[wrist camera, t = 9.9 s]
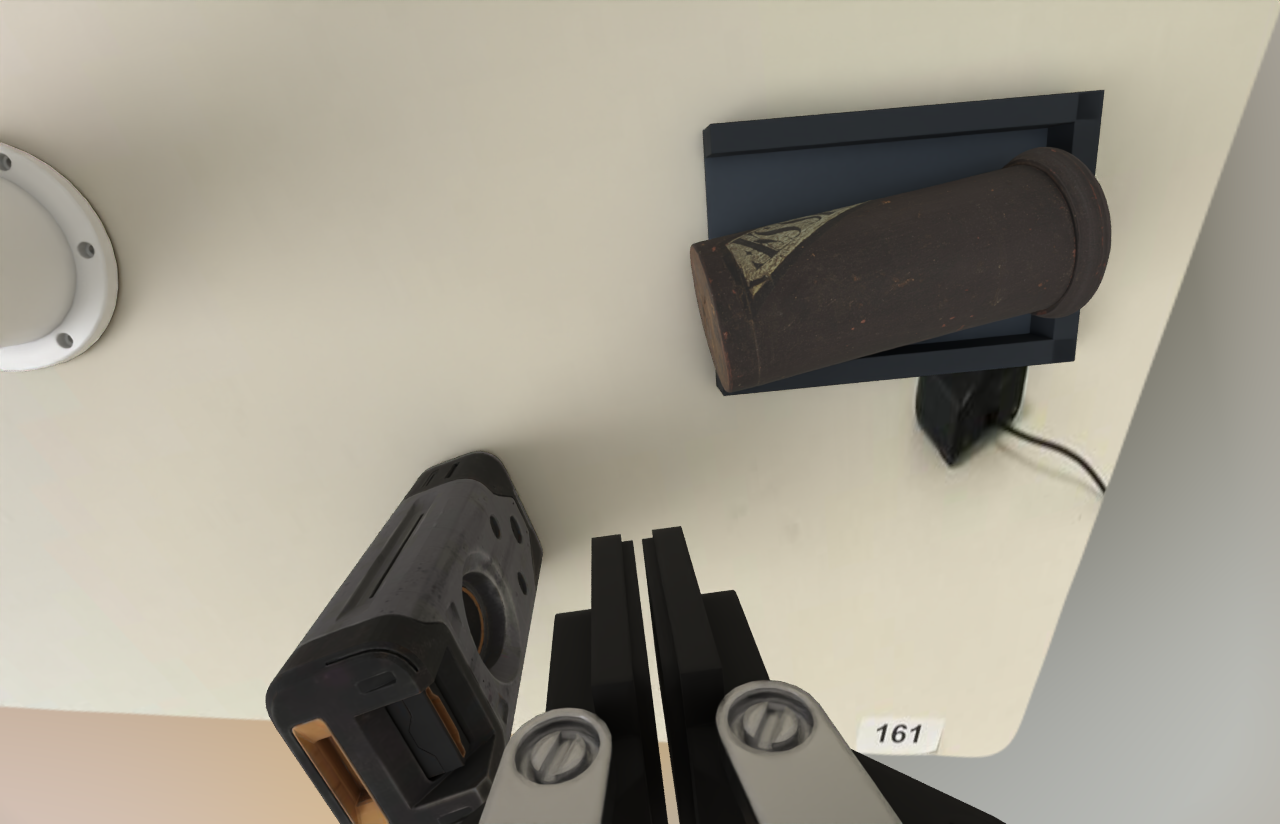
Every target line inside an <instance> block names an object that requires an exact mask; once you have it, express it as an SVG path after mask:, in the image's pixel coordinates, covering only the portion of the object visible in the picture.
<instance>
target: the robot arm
mask: <svg viewBox="0 0 1280 824" xmlns="http://www.w3.org/2000/svg"><path fill="white" fill-rule="evenodd" d="M117 292H118V273H117V263H116V259H115V256H114V252H113V248H112V244H111V242H110V239H109V237H108V235H107V233H106V231H105V229H104V226H103V224H102V222H101V220H100V219H99V217H98V216H97V214H96V213H95V211H94V210H93V209H92V207H91V206H90V204H89V203H88V201H87V200H86V199H85V198H84V197H83V196H82V194H81V193H80V192H79V191H78V190H77V189H76V188H75V187H74V186H73V185H72V184H71V183H70V181H68V180H67V179H66V178H65V177H63V176H62V175H61V174H60V173H58V172H57V171H56V170H55V169H53V168H52V167H51V166H50V165H48V164H46V163H45V162H43V161H41V160H39V159H38V158H36V157H34V156H32V155H31V154H29V153H27V152H25V151H23V150H20V149H17V148H15V147H12V146H9V145H7V144H4V143H1V142H0V371H30V370H36V369H41V368H46V367H50V366H53V365H56V364H60V363H63V362H66V361H69V360H71V359H72V358H74V357H76V356H78V355H80V354H81V353H83V352H85V351H86V350H87V349H88V348H89V347H90V346H91V345H93V344H94V343H95V342H96V341H97V340H98V339H99V338H100V336H101V335H102V333H103V332H104V330H105V329H106V327H107V326H108V324H109V322H110V320H111V317H112V314H113V312H114V309H115V306H116V300H117ZM652 534H653V538H647V539H642V544H643V553H644V561H645V569H646V578H647V586H648V595H649V603H650V611H651V620H652V628H653V636H654V645H655V653H656V661H657V669H658V677H659V684H660V691H661V698H662V705H663V712H664V719H665V726H666V732H667V739H668V746H669V752H670V760H671V767H672V774H673V781H674V787H675V794H676V802H677V807H678V808H677V809H678V815H679V822H680V824H1006V823H1004V822H1002V821H1001V820H999V819H997V818H995V817H994V816H992V815H989V814H987V813H985V812H983V811H981V810H979V809H977V808H975V807H973V806H971V805H968V804H966V803H964V802H962V801H960V800H958V799H956V798H954V797H952V796H949V795H947V794H945V793H943V792H941V791H939V790H937V789H935V788H932V787H930V786H928V785H926V784H924V783H922V782H920V781H918V780H916V779H913V778H911V777H909V776H907V775H905V774H903V773H901V772H898V771H897V770H894V769H892V768H890V767H888V766H886V765H884V764H882V763H880V762H877V761H875V760H873V759H871V758H869V757H867V756H865V755H863V754H861V753H858V752H856V751H854V750H852V749H850V747H849V746H848V744H847V743H846V742H845V740H844V739H843V737H842V736H841V734H840V733H839V731H838V730H837V729H836V727H835V726H834V724H833V723H832V721H831V720H830V719H829V717H828V716H827V714H826V713H825V711H824V710H823V708H822V707H821V706H820V704H819V703H818V702H817V701H816V700H815V699H814V698H813V697H812V696H811V695H810V694H809V693H807V692H806V691H804V690H802V689H800V688H799V687H797V686H795V685H791V684H788V683H785V682H782V681H772V680H770V679H769V676H768V674H767V671H766V669H765V666H764V663H763V661H762V658H761V656H760V653H759V651H758V648H757V645H756V643H755V640H754V638H753V635H752V632H751V630H750V627H749V625H748V622H747V620H746V617H745V614H744V612H743V609H742V607H741V604H740V601H739V599H738V596H737V594H736V592H735V591H734V590H729V591H721V592H714V593H707V594H701V593H700V589H699V586H698V583H697V579H696V576H695V572H694V569H693V565H692V562H691V559H690V555H689V552H688V548H687V545H686V541H685V538H684V534H683V531H682V528H681V526H679V527H671V528H664V529H656V530H652ZM460 824H668V820H667V811H666V803H665V795H664V786H663V778H662V770H661V762H660V754H659V747H658V738H657V730H656V722H655V714H654V706H653V698H652V690H651V682H650V674H649V666H648V658H647V650H646V642H645V634H644V626H643V618H642V610H641V602H640V594H639V586H638V578H637V570H636V562H635V555H634V547H633V540H631V541H624V542H622V541H621V534H618V535H610V536H603V537H595V538H592V562H591V609H588V610H581V611H574V612H566V613H559V614H556V615H555V620H554V630H553V640H552V651H551V661H550V672H549V682H548V692H547V703H546V712H545V713H543V714H540V715H537V716H535V717H534V718H532V719H531V720H529V721H528V722H526V723H525V724H523V725H522V726H521V727H520V728H519V729H518V730H517V731H516V732H515V733H514V734H513V735H512V737H511V738H510V740H509V742H508V744H507V746H506V748H505V750H504V752H503V755H502V758H501V761H500V764H499V767H498V770H497V773H496V775H495V778H494V781H493V784H492V787H491V790H490V793H489V796H488V798H487V800H486V801H485V802H484V803H483V804H482V805H481V806H480V807H478V808H477V809H476V810H475V811H474V812H473V813H472V814H470V815H469V816H468V817H467V818H466V819H465V820H464V821H462V822H461V823H460Z"/></svg>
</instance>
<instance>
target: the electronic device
mask: <svg viewBox="0 0 1280 824" xmlns="http://www.w3.org/2000/svg"><path fill="white" fill-rule="evenodd" d="M542 556H543V552H542V547H541V544H540V541H539V539H538V537H537V535H536V533H535V531H534V529H533V526H532V524H531V522H530V520H529V518H528V516H527V514H526V511H525V509H524V507H523V505H522V503H521V501H520V499H519V496H518V494H517V492H516V490H515V488H514V486H513V484H512V481H511V479H510V477H509V475H508V473H507V471H506V469H505V467H504V465H503V464H502V462H501V461H500V460H499V459H498V458H497V457H495V456H494V455H492V454H490V453H487V452H482V451H476V452H471V453H468V454H465V455H463V456H460V457H457V458H454V459H452V460H449V461H446V462H444V463H441V464H438V465H436V466H433V467H431V468H429V469H427V470H426V471H424V472H423V473H422V474H421V476H420V477H419V478H418V480H417V481H416V482H415V484H414V485H413V487H412V488H411V489H410V491H409V492H408V494H407V495H406V496H405V498H404V499H403V501H402V502H401V503H400V505H399V506H398V507H397V509H396V510H395V512H394V513H393V514H392V516H391V517H390V519H389V520H388V521H387V523H386V524H385V526H384V527H383V528H382V530H381V531H380V532H379V534H378V535H377V537H376V538H375V539H374V541H373V542H372V544H371V545H370V546H369V548H368V549H367V551H366V552H365V553H364V555H363V556H362V558H361V559H360V560H359V562H358V563H357V564H356V566H355V567H354V569H353V570H352V571H351V573H350V574H349V576H348V577H347V578H346V580H345V581H344V583H343V584H342V585H341V587H340V588H339V589H338V591H337V592H336V594H335V595H334V596H333V598H332V599H331V601H330V602H329V603H328V605H327V606H326V608H325V609H324V610H323V612H322V613H321V614H320V616H319V617H318V619H317V620H316V621H315V623H314V624H313V626H312V627H311V628H310V630H309V631H308V633H307V634H306V635H305V637H304V638H303V640H302V641H301V642H300V644H299V645H298V646H297V648H296V649H295V651H294V652H293V653H292V655H291V656H290V657H289V659H288V660H287V662H286V663H285V664H284V666H283V667H282V668H281V670H280V671H279V673H278V674H277V675H276V677H275V678H274V680H273V681H272V682H271V684H270V686H269V688H268V690H267V693H266V709H267V711H268V714H269V717H270V719H271V720H272V722H273V724H274V726H275V728H276V729H277V730H278V732H279V734H280V735H281V736H282V738H283V739H284V741H285V742H286V744H287V745H288V747H289V748H290V750H291V751H292V753H293V754H294V756H295V757H296V759H297V760H298V762H299V763H300V765H301V766H302V768H303V769H304V771H305V772H306V774H307V775H308V776H309V778H310V779H311V781H312V782H313V784H314V785H315V787H316V788H317V790H318V791H319V793H320V794H321V796H322V797H323V799H324V800H325V802H326V803H327V805H328V806H329V807H330V809H331V811H332V812H333V814H334V815H335V817H336V818H337V819H338V821H339V823H340V824H460V823H461V822H462V821H464V820H465V819H466V818H467V817H468V816H469V815H470V814H472V813H473V812H474V811H475V810H476V809H477V808H478V807H480V806H481V805H482V804H483V803H484V802H485V801H486V800H487V798H488V796H489V793H490V790H491V787H492V784H493V781H494V778H495V775H496V773H497V770H498V767H499V764H500V761H501V758H502V755H503V752H504V750H505V748H506V746H507V744H508V742H509V740H510V737H511V731H512V726H513V720H514V714H515V709H516V703H517V698H518V692H519V686H520V681H521V675H522V669H523V664H524V658H525V652H526V647H527V641H528V636H529V630H530V624H531V619H532V613H533V607H534V602H535V596H536V590H537V585H538V579H539V574H540V568H541V562H542Z"/></svg>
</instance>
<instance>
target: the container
mask: <svg viewBox="0 0 1280 824" xmlns="http://www.w3.org/2000/svg"><path fill="white" fill-rule="evenodd" d="M1110 249H1111V221H1110V213H1109V209H1108V205H1107V201H1106V198H1105V196H1104V193H1103V190H1102V188H1101V186H1100V184H1099V183H1098V181H1097V180H1096V178H1095V177H1094V175H1093V174H1092V172H1091V171H1090V170H1089V169H1088V168H1087V166H1086V165H1085V164H1084V163H1083V162H1081V161H1080V160H1079V159H1078V158H1077V157H1075V156H1074V155H1072V154H1070V153H1068V152H1066V151H1064V150H1061V149H1058V148H1053V147H1038V148H1033V149H1030V150H1027V151H1025V152H1023V153H1021V154H1019V155H1017V156H1016V157H1014V158H1013V159H1012V160H1011V161H1010V162H1009V163H1008V164H1006V165H1005V166H1004V167H1003V168H1001V169H999V170H995V171H991V172H987V173H983V174H979V175H975V176H970V177H967V178H963V179H959V180H955V181H951V182H947V183H943V184H939V185H935V186H931V187H927V188H923V189H918V190H914V191H910V192H906V193H901V194H897V195H893V196H889V197H885V198H879V199H876V200H870V201H867V202H863V203H859V204H855V205H852V206H848V207H843V208H839V209H835V210H831V211H826V212H822V213H818V214H814V215H809V216H805V217H801V218H797V219H792V220H789V221H785V222H781V223H777V224H772V225H767V226H763V227H759V228H755V229H751V230H747V231H743V232H739V233H735V234H731V235H726V236H722V237H718V238H714V239H710V240H706V241H702V242H698V243H695V244H693V245H692V246H691V249H690V259H691V268H692V275H693V280H694V287H695V292H696V297H697V302H698V306H699V311H700V315H701V319H702V323H703V327H704V331H705V335H706V338H707V342H708V346H709V349H710V352H711V356H712V359H713V362H714V365H715V368H716V371H717V374H718V376H719V379H720V381H721V384H722V386H723V388H724V389H725V391H726V392H729V393H731V392H735V391H740V390H744V389H747V388H752V387H755V386H760V385H764V384H767V383H770V382H774V381H777V380H781V379H785V378H789V377H792V376H795V375H798V374H802V373H806V372H809V371H813V370H817V369H820V368H824V367H828V366H831V365H835V364H839V363H842V362H846V361H849V360H853V359H857V358H860V357H864V356H868V355H871V354H875V353H878V352H882V351H886V350H890V349H894V348H897V347H901V346H905V345H908V344H912V343H916V342H920V341H924V340H928V339H932V338H935V337H939V336H943V335H946V334H949V333H953V332H957V331H961V330H965V329H968V328H972V327H976V326H981V325H984V324H988V323H992V322H996V321H1000V320H1004V319H1008V318H1012V317H1016V316H1020V315H1024V314H1028V313H1029V314H1033V315H1036V316H1039V317H1043V318H1061V317H1066V316H1069V315H1071V314H1073V313H1075V312H1076V311H1078V310H1079V309H1081V308H1082V307H1083V306H1084V305H1085V304H1086V303H1087V302H1088V301H1089V300H1090V299H1091V298H1092V296H1093V295H1094V294H1095V292H1096V291H1097V289H1098V287H1099V285H1100V283H1101V281H1102V278H1103V276H1104V273H1105V270H1106V266H1107V262H1108V259H1109V254H1110Z"/></svg>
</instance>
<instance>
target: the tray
mask: <svg viewBox="0 0 1280 824" xmlns="http://www.w3.org/2000/svg"><path fill="white" fill-rule="evenodd" d="M1103 99H1104V90H1096V91H1085V92H1074V93H1062V94H1051V95H1039V96H1028V97H1016V98H1005V99H993V100H981V101H970V102H958V103H947V104H935V105H924V106H912V107H900V108H889V109H877V110H866V111H854V112H843V113H831V114H819V115H808V116H796V117H785V118H773V119H762V120H750V121H738V122H727V123H715V124H710V125H709V126H708V127H707V128H706V129H704V130H703V145H704V164H705V182H706V201H707V219H708V238H709V240H710V239H714V238H718V237H722V236H726V235H731V234H735V233H739V232H743V231H747V230H751V229H755V228H759V227H763V226H767V225H772V224H777V223H781V222H785V221H789V220H792V219H797V218H801V217H805V216H809V215H814V214H818V213H822V212H826V211H831V210H835V209H839V208H843V207H848V206H852V205H855V204H859V203H863V202H867V201H870V200H876V199H879V198H885V197H889V196H893V195H897V194H901V193H906V192H910V191H914V190H918V189H923V188H927V187H931V186H935V185H939V184H943V183H947V182H951V181H955V180H959V179H963V178H967V177H970V176H975V175H979V174H983V173H987V172H991V171H995V170H999V169H1001V168H1003V167H1004V166H1005V165H1006V164H1008V163H1009V162H1010V161H1011V160H1012V159H1013V158H1014V157H1016V156H1017V155H1019V154H1021V153H1023V152H1025V151H1027V150H1030V149H1033V148H1038V147H1053V148H1058V149H1061V150H1064V151H1066V152H1068V153H1070V154H1072V155H1074V156H1075V157H1077V158H1078V159H1079V160H1080V161H1081V162H1083V163H1084V164H1085V165H1086V166H1087V168H1088V169H1089V170H1090V171H1091V172H1092V174H1093V175H1094V177H1095V171H1096V162H1097V153H1098V144H1099V135H1100V126H1101V117H1102V108H1103ZM1079 315H1080V309H1079V310H1078V311H1076V312H1075V313H1073V314H1071V315H1069V316H1066V317H1061V318H1043V317H1039V316H1036V315H1033V314H1029V313H1028V314H1024V315H1020V316H1016V317H1012V318H1008V319H1004V320H1000V321H996V322H992V323H988V324H984V325H981V326H976V327H972V328H968V329H965V330H961V331H957V332H953V333H949V334H946V335H943V336H939V337H935V338H932V339H928V340H924V341H920V342H916V343H912V344H908V345H905V346H901V347H897V348H894V349H890V350H886V351H882V352H878V353H875V354H871V355H868V356H864V357H860V358H857V359H853V360H849V361H846V362H842V363H839V364H835V365H831V366H828V367H824V368H820V369H817V370H813V371H809V372H806V373H802V374H798V375H795V376H792V377H789V378H785V379H781V380H777V381H774V382H770V383H767V384H764V385H760V386H755V387H752V388H747V389H744V390H740V391H735V392H731V393H729V392H726V391H725V389H724V388H723V386H722V384H721V381H720V379H719V376H718V374H717V371H716V386H717V387H718V388H719V390H720V391H721V393H722V394H723V395H724V396H728V395H738V394H748V393H758V392H768V391H778V390H788V389H798V388H808V387H818V386H829V385H839V384H849V383H859V382H869V381H879V380H889V379H899V378H909V377H919V376H930V375H940V374H950V373H960V372H970V371H980V370H990V369H1000V368H1010V367H1020V366H1031V365H1041V364H1051V363H1061V362H1071V361H1074V360H1075V351H1076V342H1077V333H1078V324H1079Z"/></svg>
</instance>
